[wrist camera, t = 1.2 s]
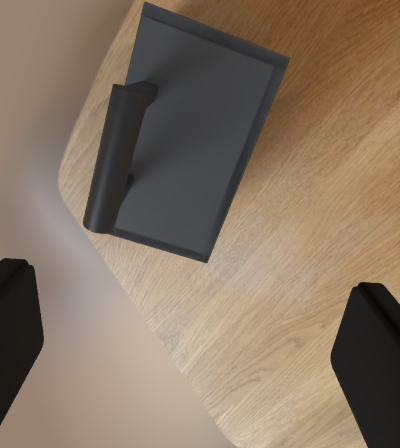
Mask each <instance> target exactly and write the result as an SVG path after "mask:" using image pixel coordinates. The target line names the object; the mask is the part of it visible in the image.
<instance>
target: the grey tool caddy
mask: <svg viewBox="0 0 400 448" xmlns="http://www.w3.org/2000/svg"><path fill="white" fill-rule="evenodd" d="M289 60H290V58H288V57H286V56H283V55H281V54H278V53H276V52H273V51H270V50H268V49H265V48H263V47H260V46H258V45H255V44H253V43H250V42H247V41H245V40H242V39H240V38H237V37H235V36H232V35H230V34H227V33H224V32H222V31H219V30H217V29H214V28H212V27H209V26H207V25H204V24H201V23H199V22H196V21H194V20H191V19H189V18H186V17H184V16H181V15H179V14H176V13H173V12H171V11H168V10H166V9H163V8H161V7H158V6H156V5H153V4H150V3H148V2H144V5H143V9H142V13H141V18H140V22H139V27H138V31H137V35H136V39H135V44H134V48H133V52H132V57H131V61H130V65H129V70H128V74H127V78H126V82H125V86H123V85H119V84H113V87H112V92H111V96H110V101H109V106H108V110H107V115H106V119H105V124H104V128H103V133H102V138H101V142H100V147H99V151H98V156H97V160H96V165H95V169H94V174H93V179H92V183H91V188H90V192H89V197H88V201H87V206H86V210H85V215H84V220H83V225H84V227H85V228H86V229H88V230H90V231H92V232H95V233H100V234H109V235H113V236H116V237H120V238H123V239H126V240H130V241H133V242H136V243H140V244H143V245H146V246H150V247H153V248H157V249H160V250H163V251H167V252H170V253H173V254H177V255H180V256H184V257H187V258H190V259H194V260H197V261H200V262H204V263H208V260H209V258H210V255H211V253H212V250H213V248H214V245H215V243H216V240H217V238H218V235H219V233H220V230H221V228H222V225H223V223H224V221H225V218H226V216H227V213H228V211H229V208H230V206H231V203H232V201H233V198H234V196H235V193H236V191H237V188H238V186H239V184H240V181H241V179H242V176H243V174H244V171H245V169H246V166H247V164H248V161H249V159H250V156H251V154H252V152H253V149H254V147H255V144H256V142H257V139H258V137H259V134H260V132H261V129H262V127H263V124H264V122H265V119H266V117H267V115H268V112H269V110H270V107H271V105H272V102H273V100H274V97H275V95H276V92H277V90H278V87H279V85H280V83H281V80H282V78H283V75H284V73H285V70H286V68H287V65H288V63H289Z"/></svg>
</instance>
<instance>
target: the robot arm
mask: <svg viewBox="0 0 400 448" xmlns="http://www.w3.org/2000/svg"><path fill="white" fill-rule="evenodd" d="M43 342H44V336H43V327H42V320H41V313H40V305H39V298H38V291H37V284H36V276H35V270H34V267H33V266H32V265H29V264H28V262H27V261H26V260H25V259H10V258H4V259H2V260H1V261H0V425H1V423H2V421H3V419H4V418H5V416H6V414H7V412H8V410H9V408H10V407H11V405H12V403H13V401H14V399H15V397H16V395H17V394H18V392H19V390H20V388H21V386H22V384H23V382H24V381H25V379H26V377H27V375H28V373H29V371H30V370H31V368H32V366H33V364H34V362H35V360H36V359H37V357H38V355H39V353H40V351H41V349H42V346H43ZM331 365H332V368H333V370H334V372H335V374H336V377H337V379H338V381H339V383H340V386H341V388H342V390H343V392H344V395H345V397H346V399H347V401H348V404H349V406H350V408H351V410H352V413H353V415H354V417H355V419H356V422H357V424H358V426H359V429H360V431H361V433H362V435H363V438H364V440H365V442H366V444H367V447H368V448H400V304H399V303H398V302H397V300H396V299H395V298H394V297H393V296H392V294H391V293H390V292H389V291H388V290H387V288H386V287H385V286H384V285H383V284H381V283H369V282H361V283H359V284H358V286H357V287H356V286H355V287H353V288H352V290H351V293H350V296H349V299H348V302H347V305H346V308H345V312H344V315H343V318H342V321H341V324H340V327H339V330H338V333H337V336H336V339H335V342H334V345H333V349H332V352H331Z"/></svg>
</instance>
